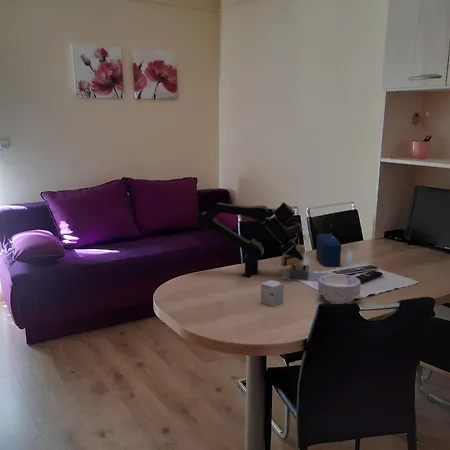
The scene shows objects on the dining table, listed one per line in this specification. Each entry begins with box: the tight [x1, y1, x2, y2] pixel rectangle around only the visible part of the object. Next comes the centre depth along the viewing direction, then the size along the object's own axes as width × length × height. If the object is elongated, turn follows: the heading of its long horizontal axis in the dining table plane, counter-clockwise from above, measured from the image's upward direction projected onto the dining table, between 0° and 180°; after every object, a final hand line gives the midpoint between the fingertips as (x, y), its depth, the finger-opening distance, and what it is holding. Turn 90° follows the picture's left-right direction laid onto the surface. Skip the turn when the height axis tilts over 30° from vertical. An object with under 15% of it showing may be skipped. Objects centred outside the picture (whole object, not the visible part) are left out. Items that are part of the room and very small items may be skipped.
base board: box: [280, 270, 330, 283], centre depth 197 cm, size 24×12×1 cm, turn 77°
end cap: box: [289, 264, 310, 280], centre depth 197 cm, size 7×9×4 cm
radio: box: [315, 223, 342, 268], centre depth 219 cm, size 21×9×20 cm, turn 179°
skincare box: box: [260, 279, 285, 307], centre depth 169 cm, size 6×6×7 cm
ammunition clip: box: [281, 238, 301, 267], centre depth 215 cm, size 11×2×12 cm, turn 127°
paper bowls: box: [317, 273, 362, 304], centre depth 172 cm, size 15×15×8 cm
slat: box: [294, 244, 305, 271], centre depth 196 cm, size 3×5×12 cm, turn 167°
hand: (303, 256), depth 196 cm, fingers open, 9 cm apart
